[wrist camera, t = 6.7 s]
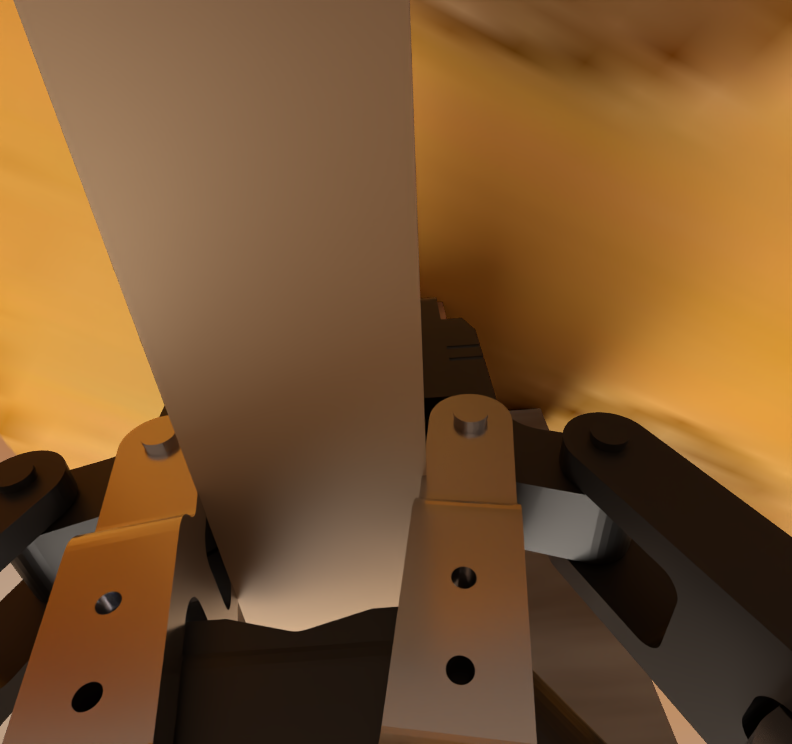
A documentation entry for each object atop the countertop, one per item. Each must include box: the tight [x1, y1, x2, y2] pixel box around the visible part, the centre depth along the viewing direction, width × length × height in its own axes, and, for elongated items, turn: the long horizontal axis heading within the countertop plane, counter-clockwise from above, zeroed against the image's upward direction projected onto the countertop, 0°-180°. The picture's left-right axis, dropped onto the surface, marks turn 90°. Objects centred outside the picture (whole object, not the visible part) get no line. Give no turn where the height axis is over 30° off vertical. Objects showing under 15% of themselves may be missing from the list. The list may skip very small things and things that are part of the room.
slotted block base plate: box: [238, 302, 678, 744], centre depth 25 cm, size 10×20×20 cm, turn 94°
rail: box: [14, 0, 427, 631], centre depth 12 cm, size 18×3×6 cm, turn 3°
